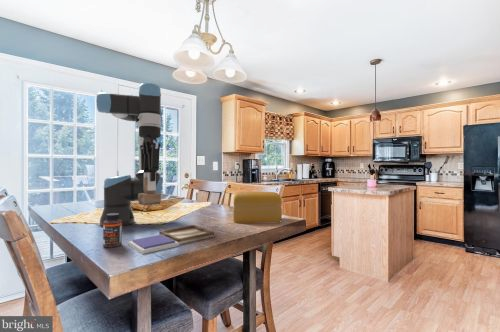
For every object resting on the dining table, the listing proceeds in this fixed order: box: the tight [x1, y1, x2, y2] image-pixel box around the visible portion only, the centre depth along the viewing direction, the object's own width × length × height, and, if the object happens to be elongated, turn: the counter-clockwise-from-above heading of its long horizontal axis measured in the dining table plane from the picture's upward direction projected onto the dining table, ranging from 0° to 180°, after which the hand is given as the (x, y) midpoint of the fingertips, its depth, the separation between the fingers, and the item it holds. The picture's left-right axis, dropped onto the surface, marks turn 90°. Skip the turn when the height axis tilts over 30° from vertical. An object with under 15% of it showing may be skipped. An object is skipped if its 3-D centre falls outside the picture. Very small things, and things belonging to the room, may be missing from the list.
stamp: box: [137, 177, 162, 206], centre depth 96 cm, size 6×6×10 cm
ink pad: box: [127, 234, 180, 255], centre depth 94 cm, size 13×13×2 cm
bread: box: [232, 191, 283, 224], centre depth 137 cm, size 24×13×15 cm, turn 94°
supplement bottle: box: [102, 213, 123, 249], centre depth 93 cm, size 6×6×11 cm
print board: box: [158, 224, 215, 245], centre depth 106 cm, size 16×16×2 cm
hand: (149, 190), depth 96 cm, fingers closed on stamp, 3 cm apart
